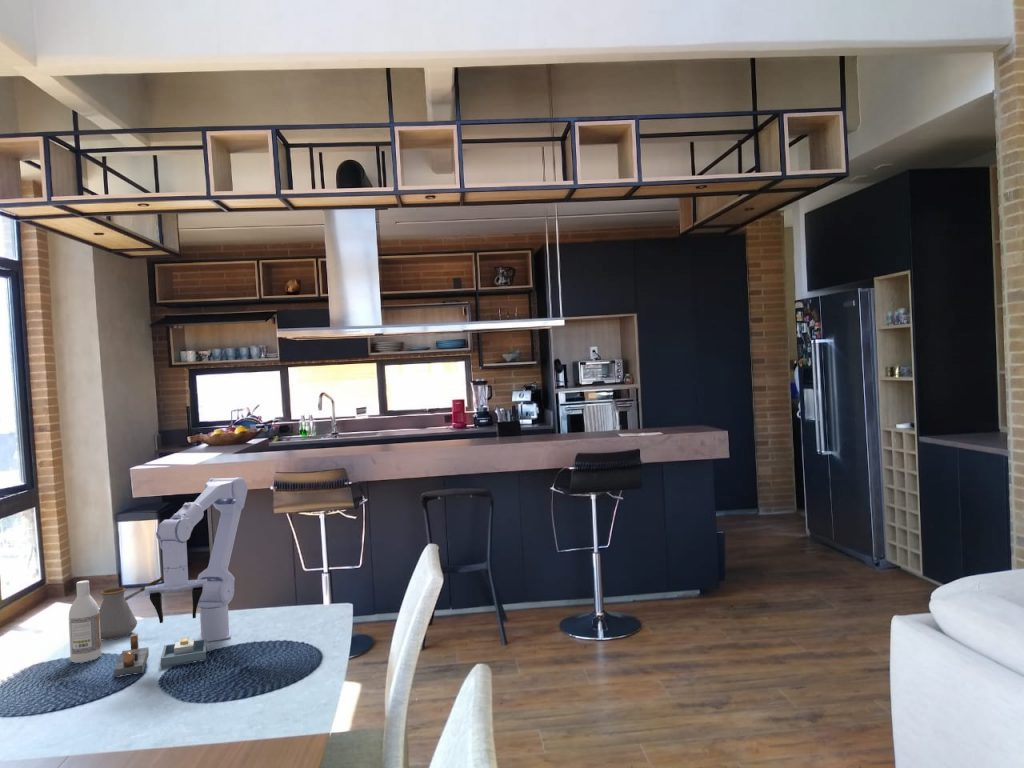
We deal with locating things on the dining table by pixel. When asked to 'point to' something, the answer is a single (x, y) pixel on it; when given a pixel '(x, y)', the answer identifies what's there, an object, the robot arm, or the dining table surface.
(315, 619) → the dining table surface
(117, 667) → the hand plane
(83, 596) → the bath foam
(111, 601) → the coffee pot
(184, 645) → the white yellow block
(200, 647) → the tray
